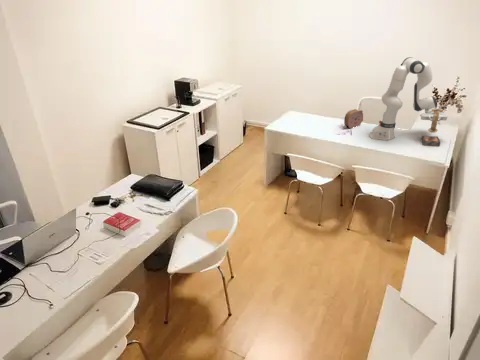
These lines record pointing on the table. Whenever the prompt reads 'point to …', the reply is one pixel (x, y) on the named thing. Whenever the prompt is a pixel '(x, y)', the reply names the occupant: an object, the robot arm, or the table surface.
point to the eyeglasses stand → (434, 120)
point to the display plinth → (430, 141)
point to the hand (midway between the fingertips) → (435, 120)
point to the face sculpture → (353, 118)
